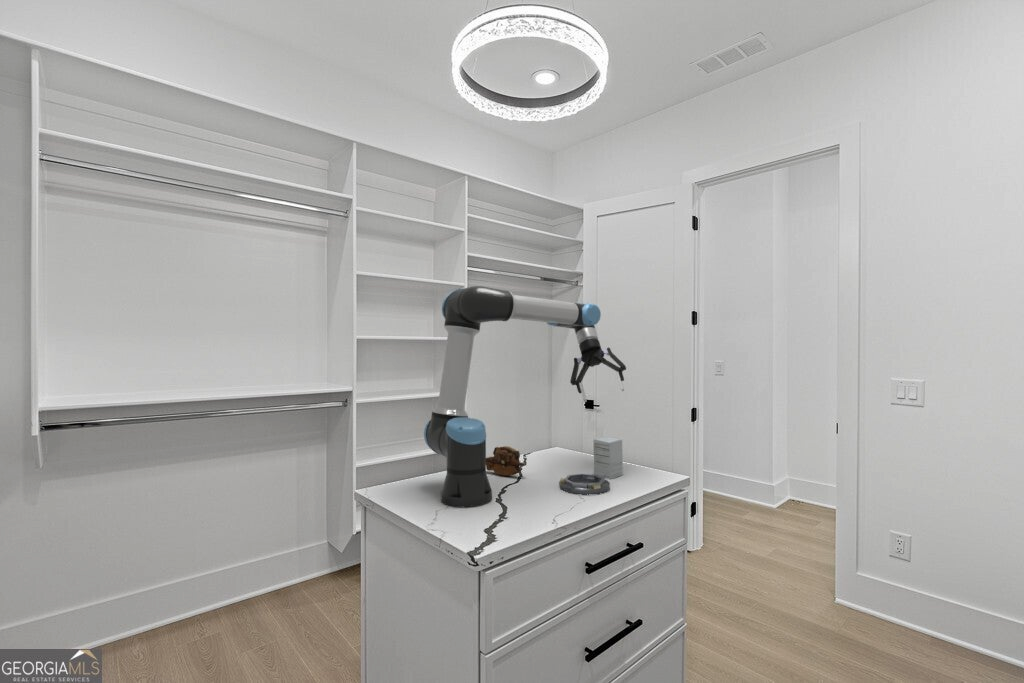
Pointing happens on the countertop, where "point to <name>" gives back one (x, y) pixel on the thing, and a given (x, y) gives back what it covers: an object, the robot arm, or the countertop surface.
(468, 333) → the robot arm
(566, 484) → the ring
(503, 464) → the wooden carving
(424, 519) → the countertop surface
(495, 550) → the countertop surface
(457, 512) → the countertop surface
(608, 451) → the supplement box
